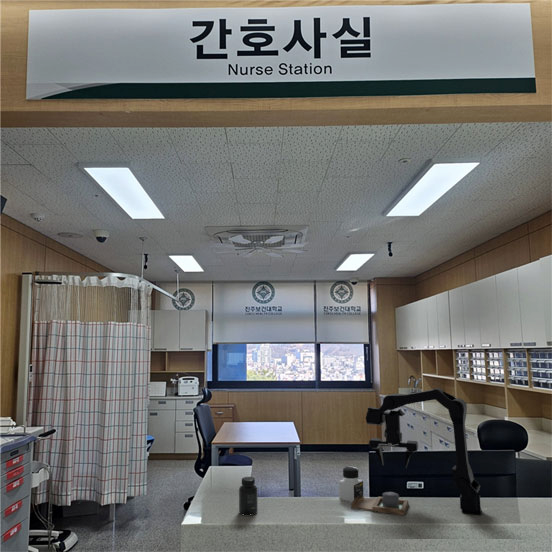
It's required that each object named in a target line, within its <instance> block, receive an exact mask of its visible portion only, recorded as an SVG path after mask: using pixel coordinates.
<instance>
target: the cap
mask: <svg viewBox="0 0 552 552" xmlns="http://www.w3.org/2000/svg"><path fill="white" fill-rule="evenodd" d="M381 497H382V498H383V507H389V508H397V509H399V499H400V495H399V494H398V493H396V492H393V491H385V492H383V493H382V496H381Z"/></svg>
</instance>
